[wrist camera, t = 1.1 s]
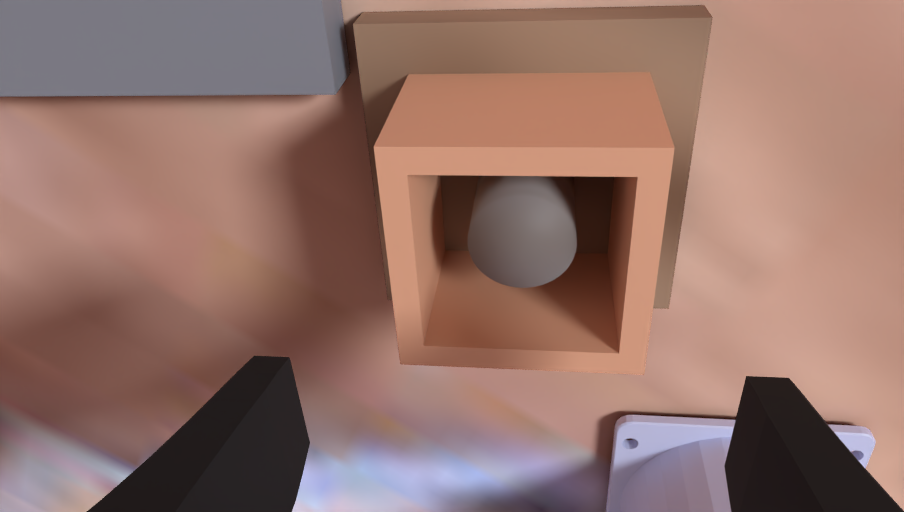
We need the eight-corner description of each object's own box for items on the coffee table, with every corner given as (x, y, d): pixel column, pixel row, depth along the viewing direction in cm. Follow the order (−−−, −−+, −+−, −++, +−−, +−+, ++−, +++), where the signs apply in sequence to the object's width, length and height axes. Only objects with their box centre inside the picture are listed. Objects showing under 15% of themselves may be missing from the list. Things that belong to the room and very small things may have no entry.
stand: (664, 287, 21) (685, 384, 17) (394, 279, 22) (365, 370, 18) (704, 5, 16) (743, 64, 13) (362, 12, 17) (317, 68, 14)
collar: (628, 272, 19) (643, 374, 16) (425, 267, 20) (400, 364, 17) (650, 71, 16) (674, 147, 13) (408, 74, 17) (373, 146, 14)
